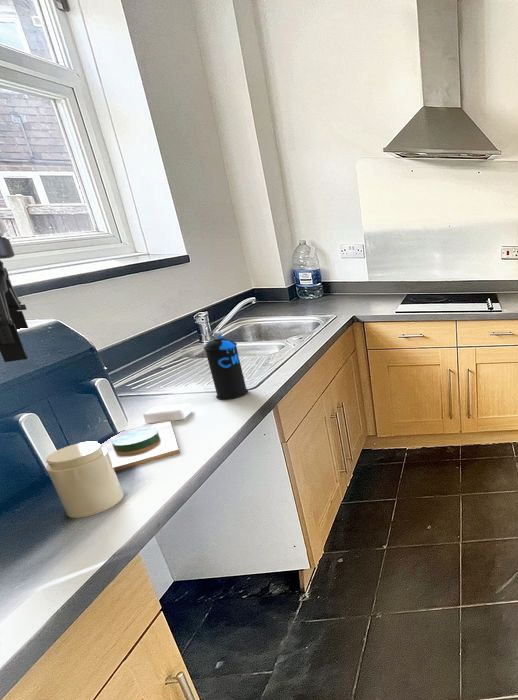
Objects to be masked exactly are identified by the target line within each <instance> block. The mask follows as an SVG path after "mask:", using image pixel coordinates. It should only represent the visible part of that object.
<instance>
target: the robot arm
mask: <svg viewBox="0 0 518 700" xmlns="http://www.w3.org/2000/svg"><path fill="white" fill-rule="evenodd" d="M6 232H7V229H6V226H5V223H4V220H3V218H2V215H1V214H0V354H1V357H2V359H3V362H4V363H8V362H9V363H10V362H16V361H24V360H28V359H29V357H28V356H27V352H26V350H25V347H24V344H22V342H21V340H20V337H19V334H18V332H17V329H20V328H29V325H28V323H27V320H26V317H25V315H24V313H23V311H27V310H28V309H27V306H26V304H25V303H23V304H22V302H21V301H20V299H19V298H18V294H17V293H16V290H15V289H14V286H13V285H12V281H11V279H10V276H9V272H8V270H7V267H5V266H4V262H3V261H2V260H3V259H11V258H13V257H15V252H14V249H13V246H12V243H11V241H10V238H8V237H7V236H5V235H4V234H5V233H6Z"/></svg>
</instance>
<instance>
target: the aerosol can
mask: <svg viewBox="0 0 518 700" xmlns="http://www.w3.org/2000/svg"><path fill="white" fill-rule="evenodd" d="M212 334H213V335H212V336H213V339H212V340H210V341H208V342H207V343H206V344H205V346H204V347H203V350H204V351H205V355H206V358H207V359H206V360H207V362H208V367H209V370H210V373H211V374H210V375H211V378H212V382H213V384H214V389H215V392H216V395H215V396H216V398H217V399H218V400H223V401H225V400H234V399H239V398H242V397H243V396H245V395H247V394H248V393H249V390H248V388H247V386H246V381H245V377H244V373H243V369H242V364H241V361H240V360H241V359H240V356H239V353H238V348H237V345H238V344H237V342H235V341H233V340H232V339H230V338H225V337H223V335H222V331H221V330H217V331H213V332H212Z"/></svg>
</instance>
